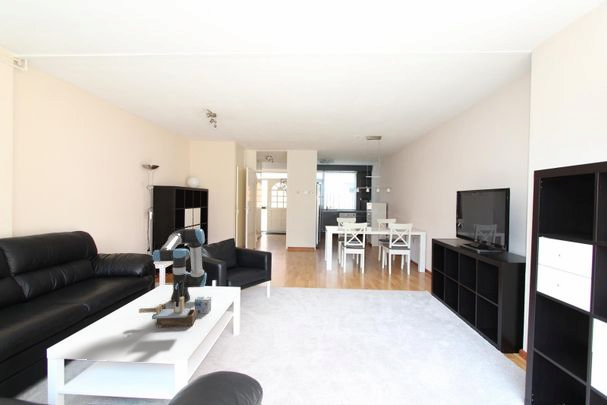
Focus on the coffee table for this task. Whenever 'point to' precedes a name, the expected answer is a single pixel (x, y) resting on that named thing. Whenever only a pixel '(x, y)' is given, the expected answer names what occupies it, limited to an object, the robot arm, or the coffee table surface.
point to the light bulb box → (203, 304)
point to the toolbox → (177, 320)
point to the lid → (172, 311)
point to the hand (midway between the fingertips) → (178, 309)
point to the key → (147, 310)
